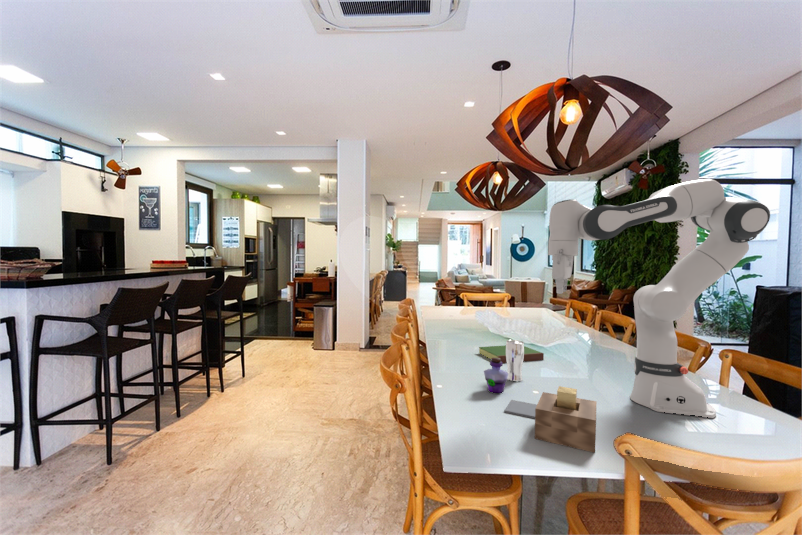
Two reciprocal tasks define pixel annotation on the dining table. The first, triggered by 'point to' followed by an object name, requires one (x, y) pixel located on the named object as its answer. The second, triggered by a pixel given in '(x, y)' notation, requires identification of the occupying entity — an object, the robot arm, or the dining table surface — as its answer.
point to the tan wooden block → (567, 398)
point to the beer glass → (514, 359)
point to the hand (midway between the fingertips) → (561, 292)
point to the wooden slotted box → (566, 423)
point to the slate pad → (521, 408)
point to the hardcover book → (501, 353)
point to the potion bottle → (496, 376)
